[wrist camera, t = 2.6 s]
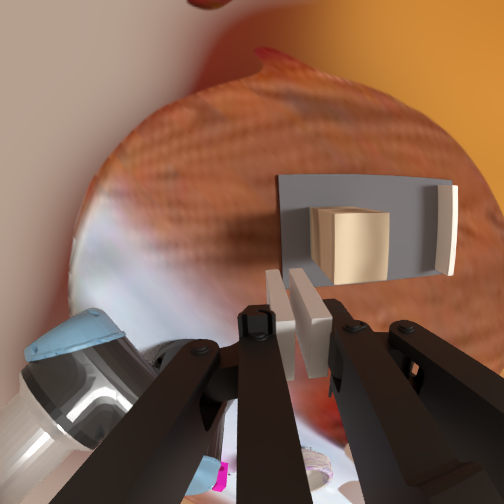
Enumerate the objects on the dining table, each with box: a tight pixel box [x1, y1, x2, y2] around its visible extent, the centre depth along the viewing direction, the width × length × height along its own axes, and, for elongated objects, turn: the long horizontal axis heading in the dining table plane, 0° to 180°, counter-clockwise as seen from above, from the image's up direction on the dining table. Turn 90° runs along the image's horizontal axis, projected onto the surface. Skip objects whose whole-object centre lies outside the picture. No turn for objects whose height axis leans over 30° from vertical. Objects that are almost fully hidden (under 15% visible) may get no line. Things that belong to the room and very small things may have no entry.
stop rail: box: [435, 185, 458, 276], centre depth 35 cm, size 1×14×4 cm, turn 3°
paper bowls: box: [301, 448, 333, 492], centre depth 45 cm, size 15×15×8 cm
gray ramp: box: [278, 174, 452, 289], centre depth 37 cm, size 30×16×1 cm, turn 93°
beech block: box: [309, 206, 389, 285], centre depth 31 cm, size 6×7×12 cm
